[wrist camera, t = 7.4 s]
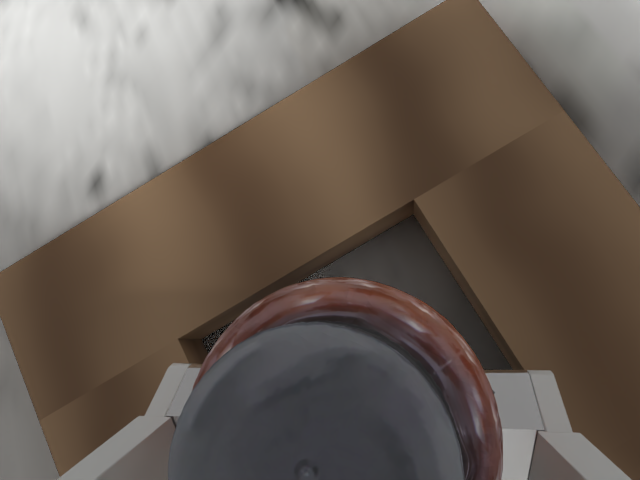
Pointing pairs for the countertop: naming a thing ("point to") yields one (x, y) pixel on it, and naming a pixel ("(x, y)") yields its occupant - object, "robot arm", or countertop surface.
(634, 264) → the holder block
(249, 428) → the supplement bottle
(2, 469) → the countertop surface
